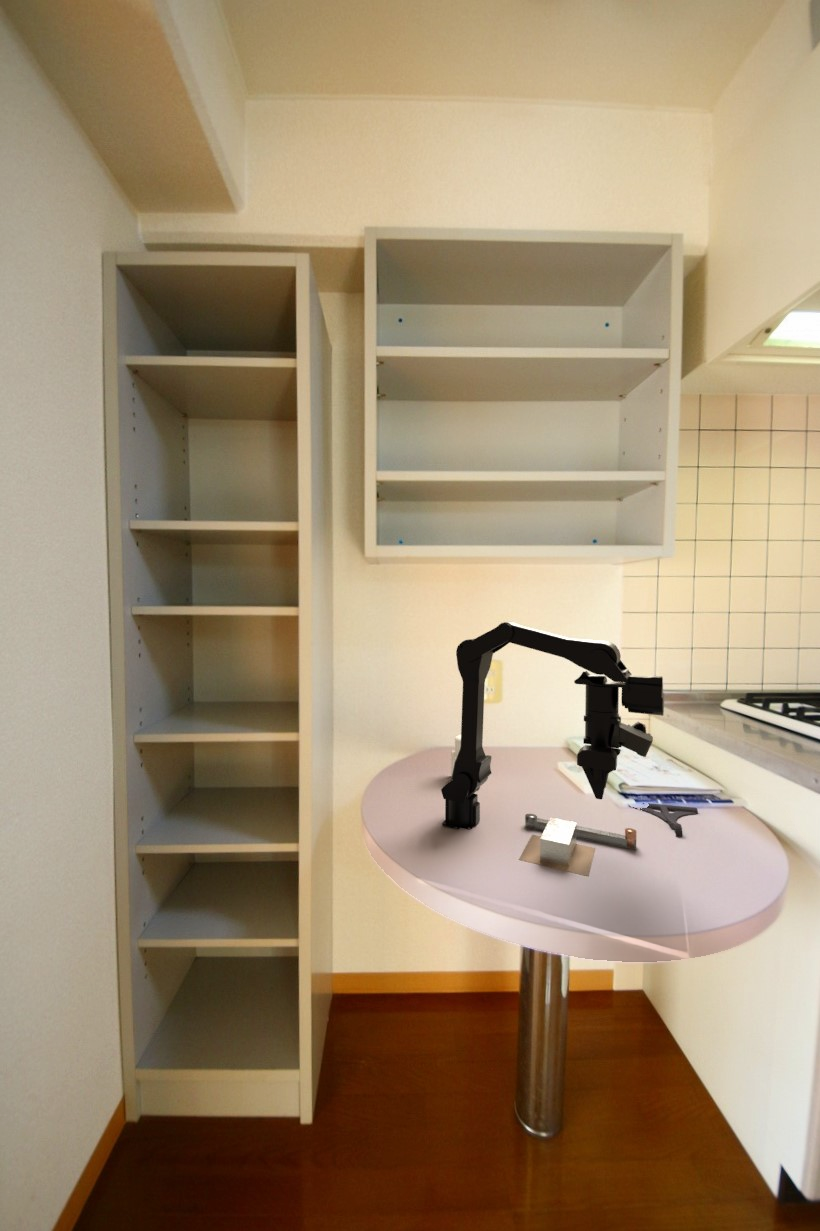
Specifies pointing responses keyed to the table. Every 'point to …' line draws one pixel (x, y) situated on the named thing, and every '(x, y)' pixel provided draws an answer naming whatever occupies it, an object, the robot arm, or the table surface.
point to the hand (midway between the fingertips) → (600, 793)
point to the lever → (590, 833)
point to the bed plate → (577, 864)
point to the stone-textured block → (558, 841)
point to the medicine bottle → (455, 752)
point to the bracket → (671, 814)
